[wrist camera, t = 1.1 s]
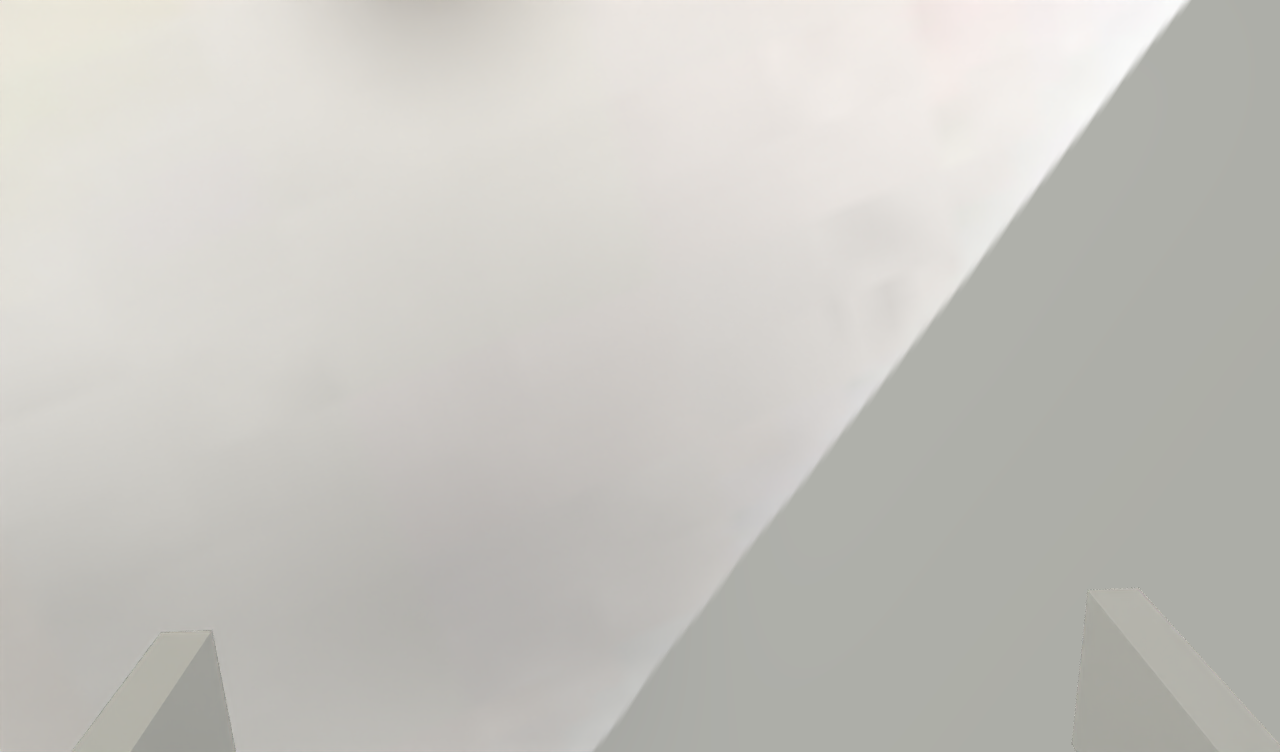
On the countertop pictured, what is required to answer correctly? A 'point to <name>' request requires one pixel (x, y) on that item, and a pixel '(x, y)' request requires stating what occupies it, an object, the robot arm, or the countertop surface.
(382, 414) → the countertop surface
